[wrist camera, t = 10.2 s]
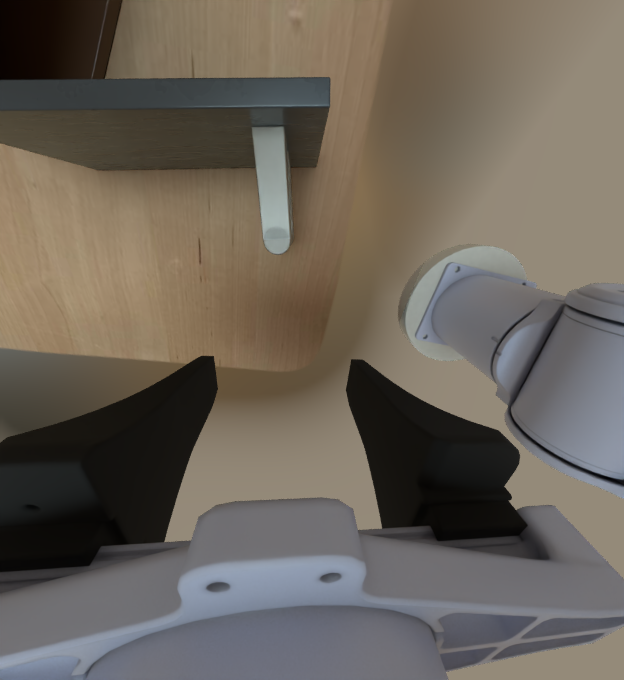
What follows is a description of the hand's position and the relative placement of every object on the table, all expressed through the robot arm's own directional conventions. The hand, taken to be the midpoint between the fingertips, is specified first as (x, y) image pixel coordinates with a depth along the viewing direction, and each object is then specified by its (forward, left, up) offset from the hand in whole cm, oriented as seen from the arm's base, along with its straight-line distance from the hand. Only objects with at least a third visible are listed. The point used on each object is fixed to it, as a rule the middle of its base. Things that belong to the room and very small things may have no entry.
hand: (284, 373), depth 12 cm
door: (+7, -7, -10) cm, 15 cm away
